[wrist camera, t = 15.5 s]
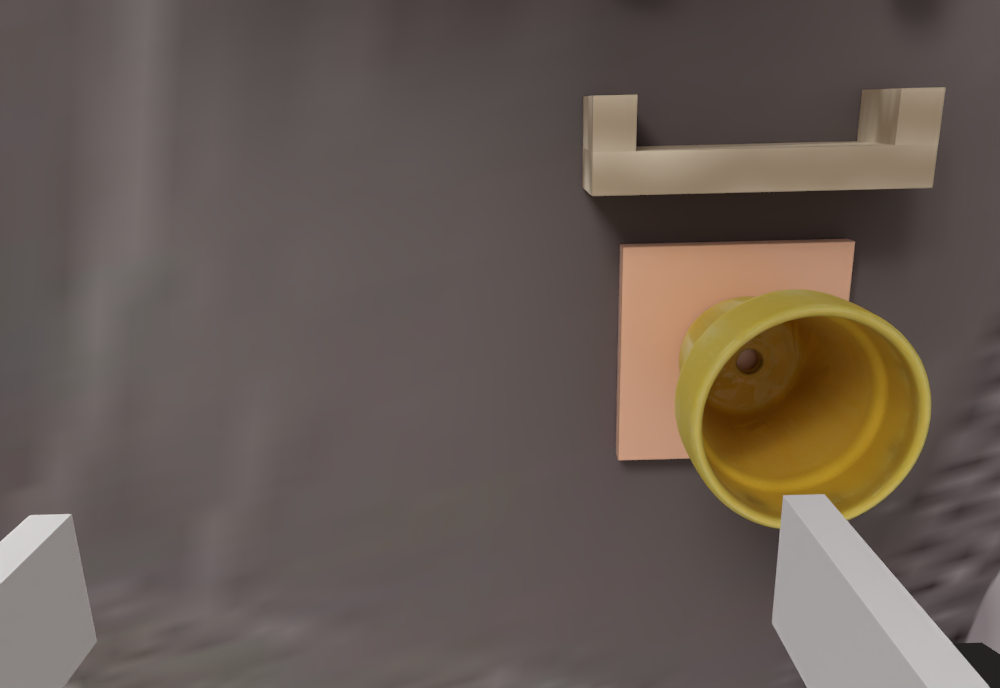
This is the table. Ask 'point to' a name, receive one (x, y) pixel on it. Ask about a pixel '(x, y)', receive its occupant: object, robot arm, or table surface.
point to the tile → (681, 300)
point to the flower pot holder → (767, 152)
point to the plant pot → (800, 403)
